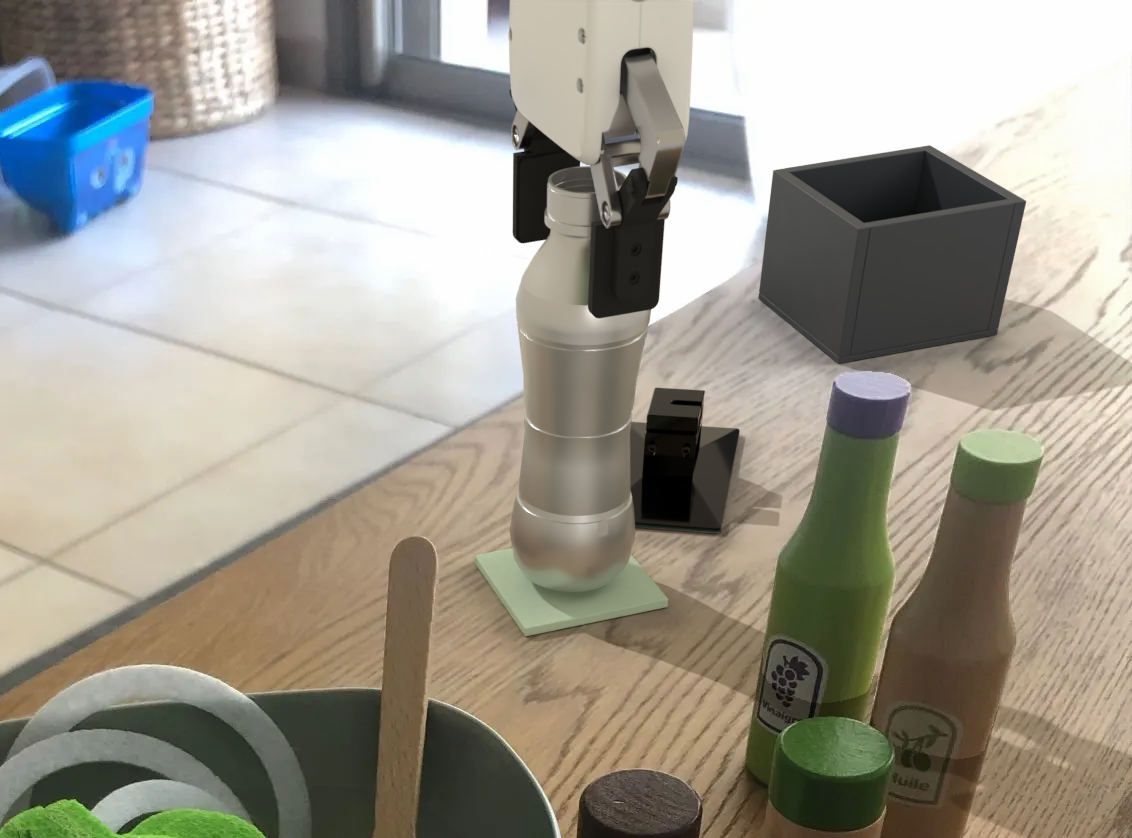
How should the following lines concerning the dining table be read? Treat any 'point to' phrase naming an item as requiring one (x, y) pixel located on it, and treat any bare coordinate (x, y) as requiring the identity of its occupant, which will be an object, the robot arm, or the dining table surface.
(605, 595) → the mat
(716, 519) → the black piece
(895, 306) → the open box
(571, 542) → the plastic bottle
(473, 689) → the dining table surface
